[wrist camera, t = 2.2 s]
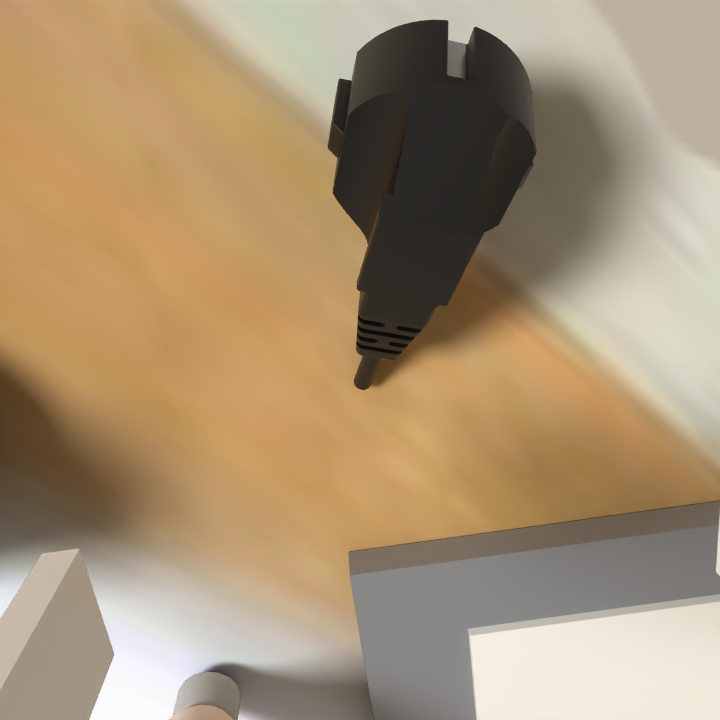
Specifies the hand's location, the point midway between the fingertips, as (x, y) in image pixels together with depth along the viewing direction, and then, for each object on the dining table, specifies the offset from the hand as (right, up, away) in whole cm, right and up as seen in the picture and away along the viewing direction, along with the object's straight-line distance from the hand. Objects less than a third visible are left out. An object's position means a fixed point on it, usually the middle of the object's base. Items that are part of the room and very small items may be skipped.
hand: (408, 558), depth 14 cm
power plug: (-1, +6, +13) cm, 14 cm away
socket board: (+10, -12, +18) cm, 24 cm away
